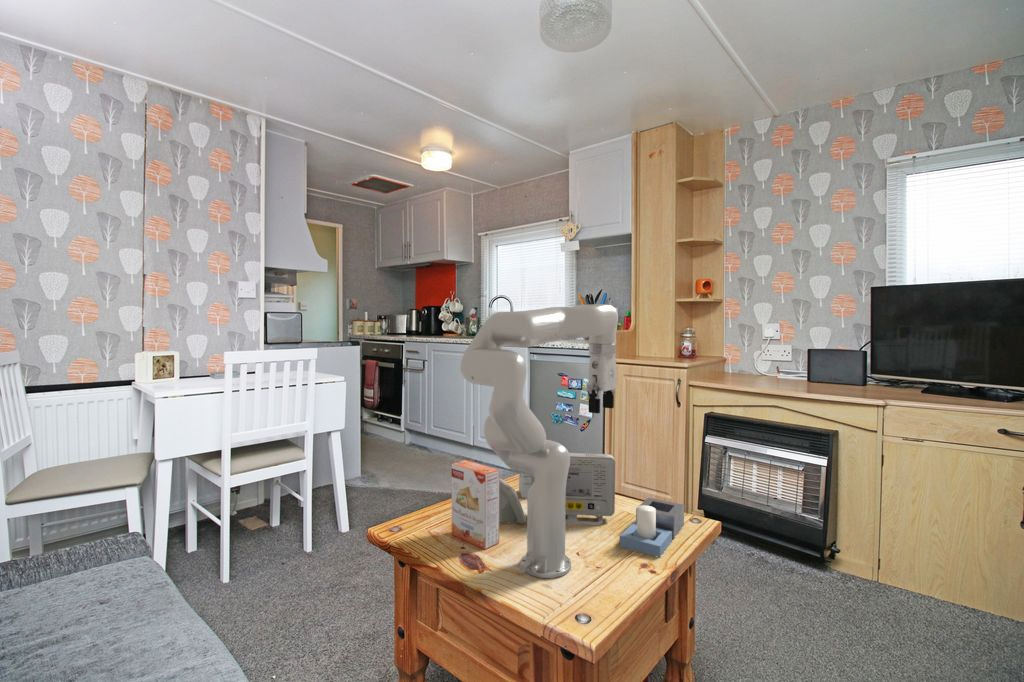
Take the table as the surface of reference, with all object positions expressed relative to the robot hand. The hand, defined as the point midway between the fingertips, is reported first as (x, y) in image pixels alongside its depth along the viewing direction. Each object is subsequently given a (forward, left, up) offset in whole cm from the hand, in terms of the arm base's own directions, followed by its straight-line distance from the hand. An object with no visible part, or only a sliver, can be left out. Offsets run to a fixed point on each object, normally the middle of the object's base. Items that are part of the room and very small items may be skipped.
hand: (601, 410), depth 140 cm
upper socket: (+15, -13, -36) cm, 41 cm away
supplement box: (+18, +34, -36) cm, 53 cm away
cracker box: (-22, +28, -36) cm, 51 cm away
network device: (+7, +12, -36) cm, 39 cm away
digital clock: (-3, +29, -36) cm, 47 cm away
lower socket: (+2, -13, -36) cm, 38 cm away
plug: (+2, -13, -36) cm, 38 cm away
